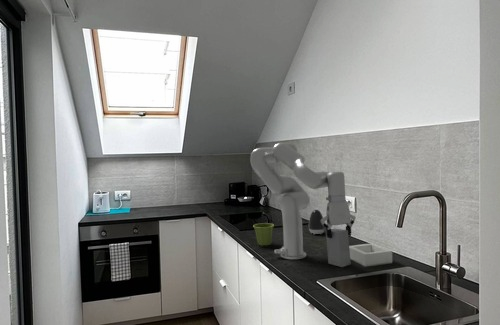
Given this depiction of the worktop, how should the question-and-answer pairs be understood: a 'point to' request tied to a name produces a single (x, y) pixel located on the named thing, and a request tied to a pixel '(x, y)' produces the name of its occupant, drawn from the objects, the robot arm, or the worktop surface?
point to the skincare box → (338, 248)
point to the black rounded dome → (316, 222)
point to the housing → (370, 254)
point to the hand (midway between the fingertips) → (339, 236)
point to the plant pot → (264, 233)
